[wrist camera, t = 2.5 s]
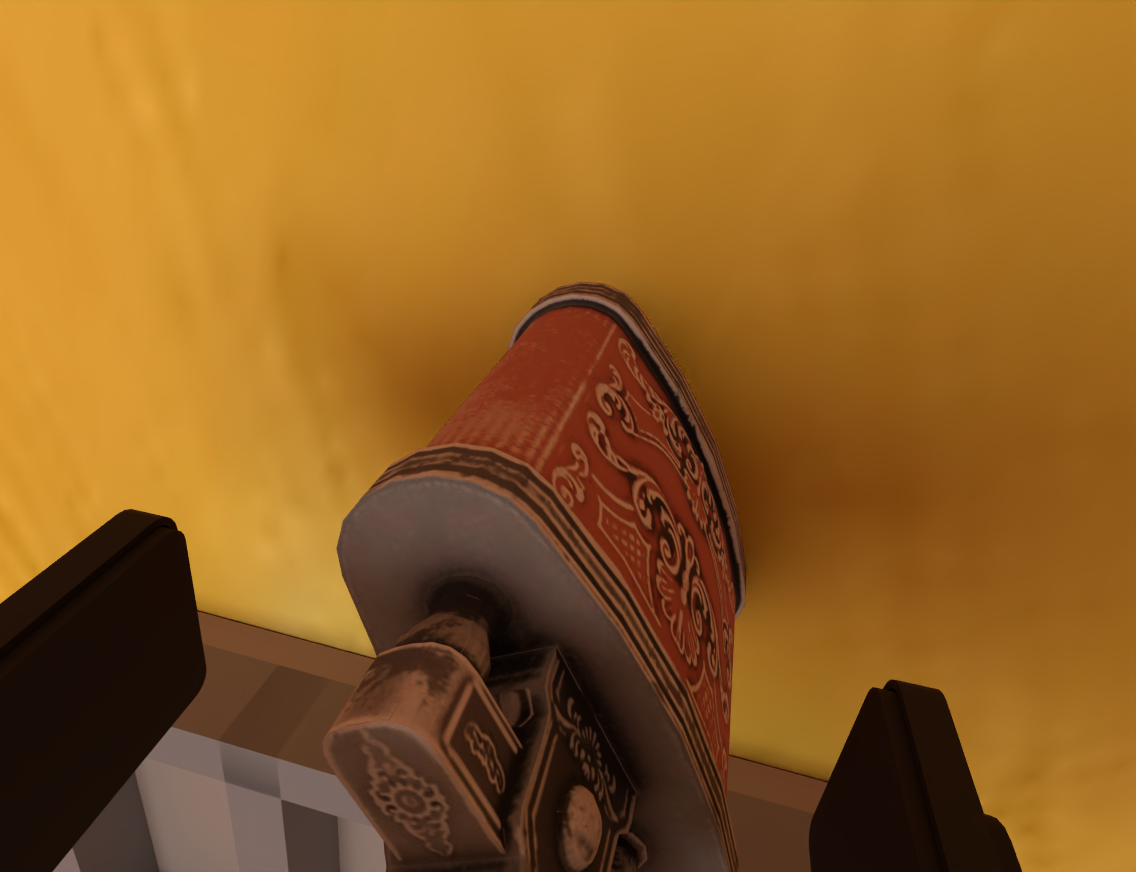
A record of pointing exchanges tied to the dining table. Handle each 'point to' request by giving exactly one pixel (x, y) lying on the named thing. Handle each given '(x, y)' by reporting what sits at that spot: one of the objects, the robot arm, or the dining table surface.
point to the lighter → (550, 616)
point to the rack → (320, 777)
